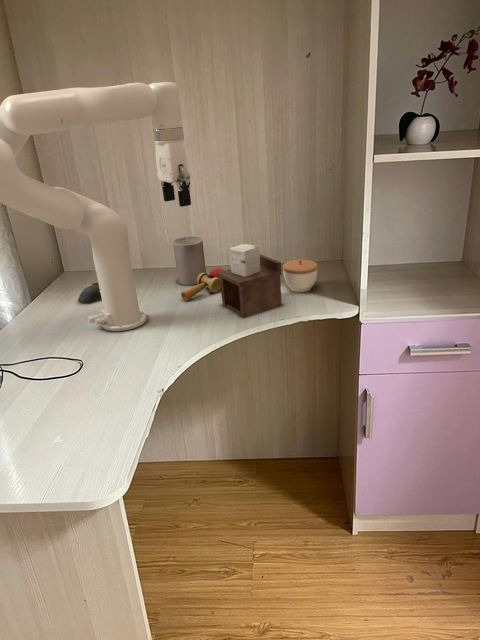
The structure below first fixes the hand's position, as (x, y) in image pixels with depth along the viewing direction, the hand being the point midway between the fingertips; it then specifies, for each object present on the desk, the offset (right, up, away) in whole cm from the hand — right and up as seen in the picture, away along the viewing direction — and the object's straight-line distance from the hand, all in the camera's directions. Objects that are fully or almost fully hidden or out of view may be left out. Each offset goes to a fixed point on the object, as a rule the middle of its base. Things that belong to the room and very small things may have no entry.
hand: (177, 203), depth 144 cm
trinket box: (+35, -21, +21) cm, 46 cm away
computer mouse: (-30, -22, +29) cm, 47 cm away
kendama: (+5, -22, +23) cm, 32 cm away
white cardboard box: (+19, -18, +6) cm, 27 cm away
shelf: (+20, -27, +12) cm, 35 cm away
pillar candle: (0, -17, +34) cm, 38 cm away
